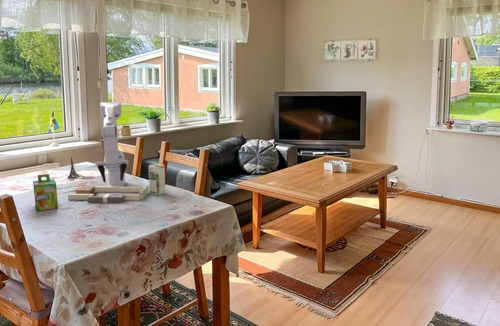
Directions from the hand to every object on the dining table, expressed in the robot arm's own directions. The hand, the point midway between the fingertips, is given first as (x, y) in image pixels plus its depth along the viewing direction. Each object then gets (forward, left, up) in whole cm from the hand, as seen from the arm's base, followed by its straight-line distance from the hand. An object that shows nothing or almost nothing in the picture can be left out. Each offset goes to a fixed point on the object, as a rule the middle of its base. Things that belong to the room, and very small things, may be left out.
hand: (113, 181), depth 203 cm
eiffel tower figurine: (-45, -37, -11) cm, 59 cm away
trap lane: (-9, -6, -10) cm, 15 cm away
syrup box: (-15, +17, -10) cm, 25 cm away
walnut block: (-11, -17, -10) cm, 23 cm away
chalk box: (+7, -28, -10) cm, 31 cm away
